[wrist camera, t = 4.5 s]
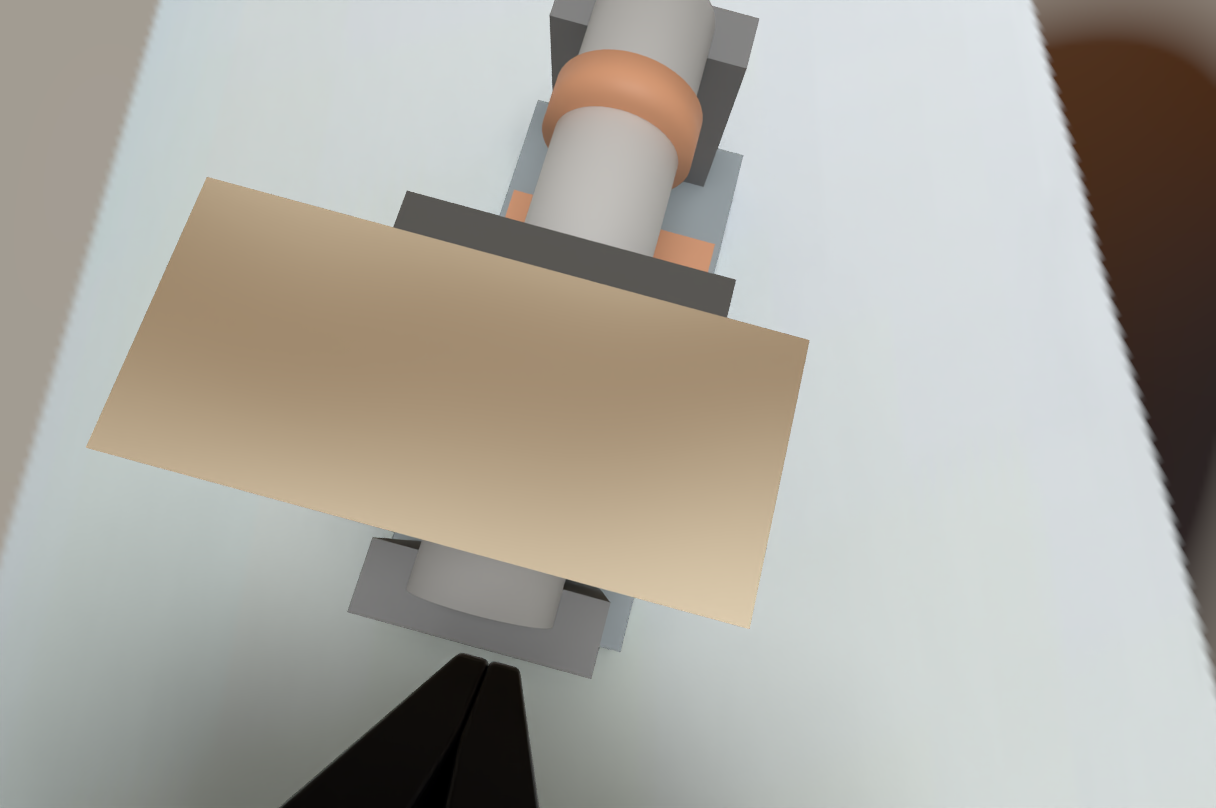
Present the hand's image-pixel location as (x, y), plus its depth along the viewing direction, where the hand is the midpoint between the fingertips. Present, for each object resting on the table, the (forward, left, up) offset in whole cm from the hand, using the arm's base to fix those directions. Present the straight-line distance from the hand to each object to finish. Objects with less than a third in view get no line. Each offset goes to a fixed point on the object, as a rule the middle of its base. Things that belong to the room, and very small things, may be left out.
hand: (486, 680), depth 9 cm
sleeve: (+1, +3, -8) cm, 9 cm away
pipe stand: (+4, +7, -12) cm, 14 cm away
